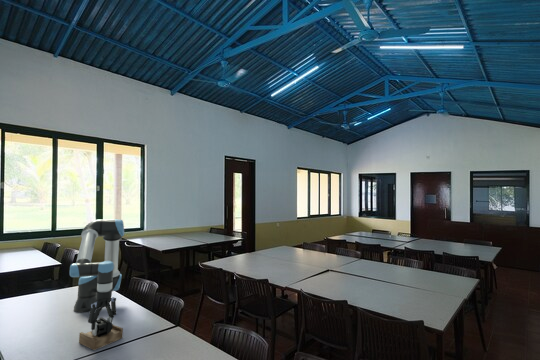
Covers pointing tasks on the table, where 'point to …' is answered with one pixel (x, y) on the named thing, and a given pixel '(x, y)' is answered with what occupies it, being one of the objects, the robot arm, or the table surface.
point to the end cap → (103, 327)
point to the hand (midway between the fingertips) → (101, 331)
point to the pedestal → (100, 338)
